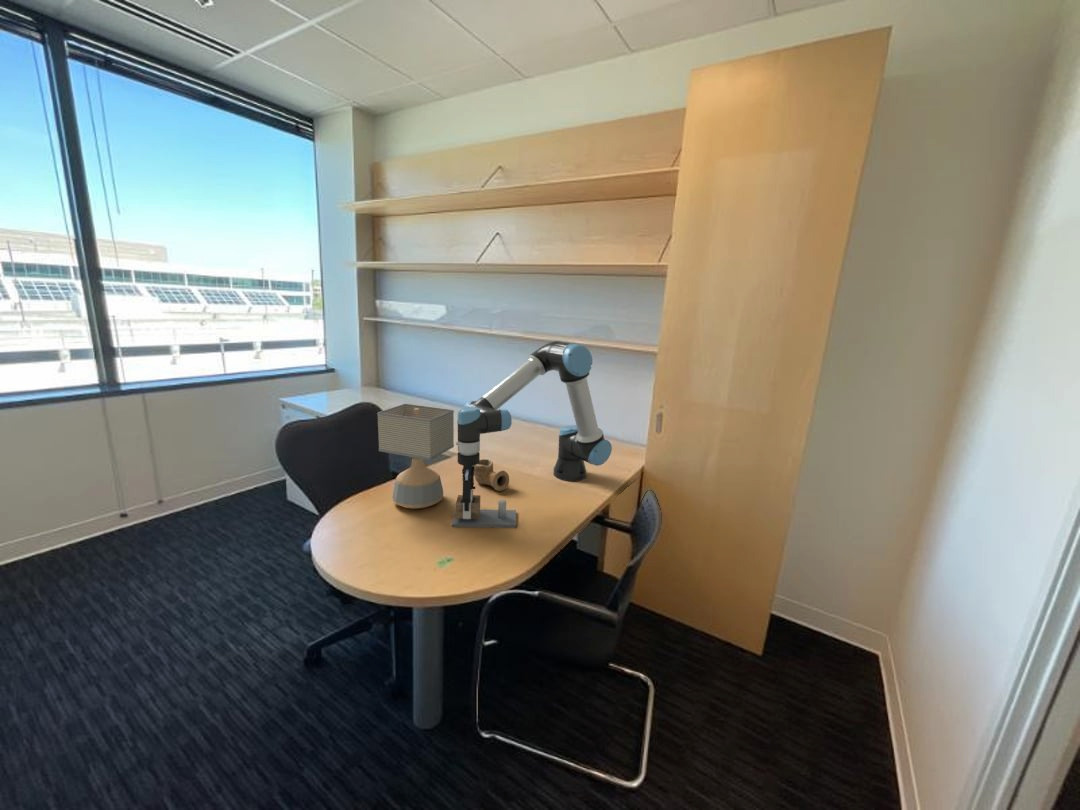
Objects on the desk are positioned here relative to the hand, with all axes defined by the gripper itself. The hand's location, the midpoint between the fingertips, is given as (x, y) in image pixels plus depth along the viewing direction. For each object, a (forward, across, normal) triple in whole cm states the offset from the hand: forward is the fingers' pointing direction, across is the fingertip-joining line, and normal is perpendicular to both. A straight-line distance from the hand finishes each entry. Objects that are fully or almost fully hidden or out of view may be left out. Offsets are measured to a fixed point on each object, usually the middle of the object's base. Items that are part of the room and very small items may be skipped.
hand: (468, 512), depth 153 cm
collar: (0, 0, 0) cm, 0 cm away
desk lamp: (+3, -14, -20) cm, 25 cm away
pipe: (+3, -29, +6) cm, 30 cm away
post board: (+3, 0, +6) cm, 7 cm away
